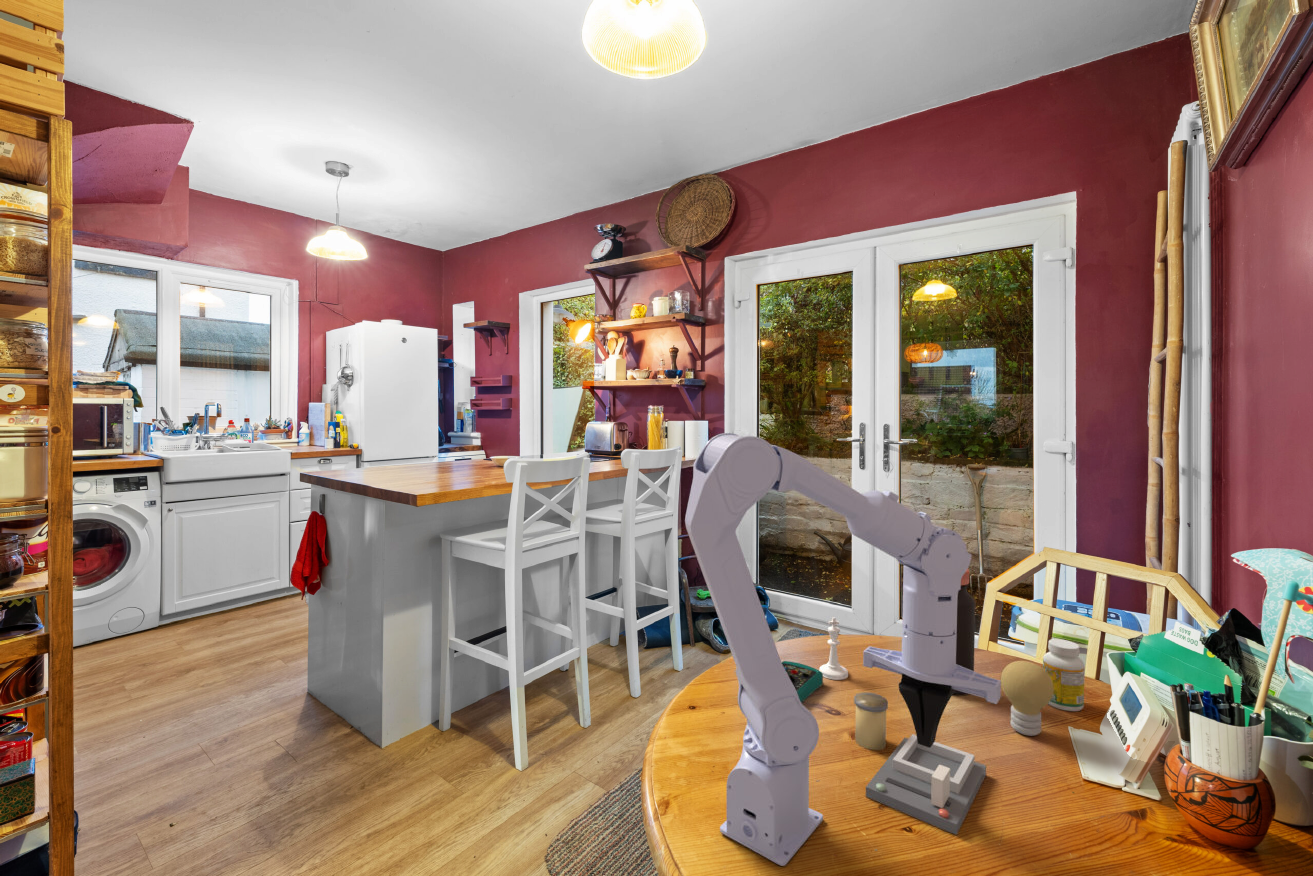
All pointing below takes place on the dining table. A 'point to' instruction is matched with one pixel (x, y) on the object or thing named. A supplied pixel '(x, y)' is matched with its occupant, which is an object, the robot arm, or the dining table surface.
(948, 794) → the lever
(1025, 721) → the light bulb
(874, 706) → the beige cylinder
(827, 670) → the chess piece
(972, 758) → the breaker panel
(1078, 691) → the supplement bottle
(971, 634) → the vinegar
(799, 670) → the digital multimeter
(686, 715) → the dining table surface
